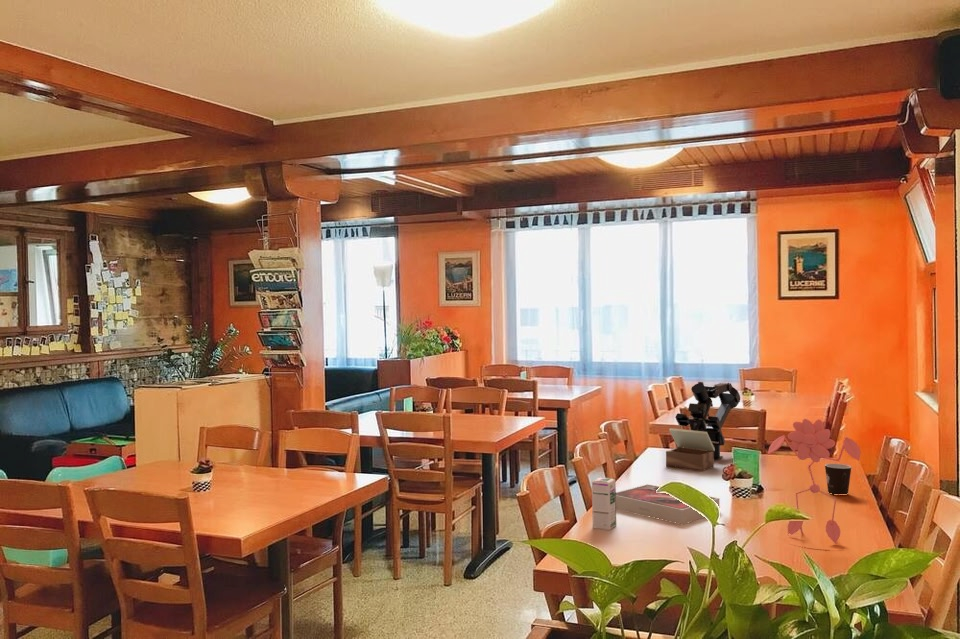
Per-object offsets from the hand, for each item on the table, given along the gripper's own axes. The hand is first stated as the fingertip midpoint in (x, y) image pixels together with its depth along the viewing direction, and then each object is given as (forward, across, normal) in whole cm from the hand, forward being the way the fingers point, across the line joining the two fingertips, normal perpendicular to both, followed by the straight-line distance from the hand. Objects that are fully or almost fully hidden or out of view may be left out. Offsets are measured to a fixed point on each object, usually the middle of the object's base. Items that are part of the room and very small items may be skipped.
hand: (692, 436), depth 321 cm
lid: (+2, 0, +1) cm, 2 cm away
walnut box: (+10, 0, +7) cm, 13 cm away
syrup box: (+83, +18, -65) cm, 107 cm away
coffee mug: (+21, +62, -3) cm, 65 cm away
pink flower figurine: (+66, +71, -48) cm, 108 cm away
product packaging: (+62, +23, -43) cm, 79 cm away
